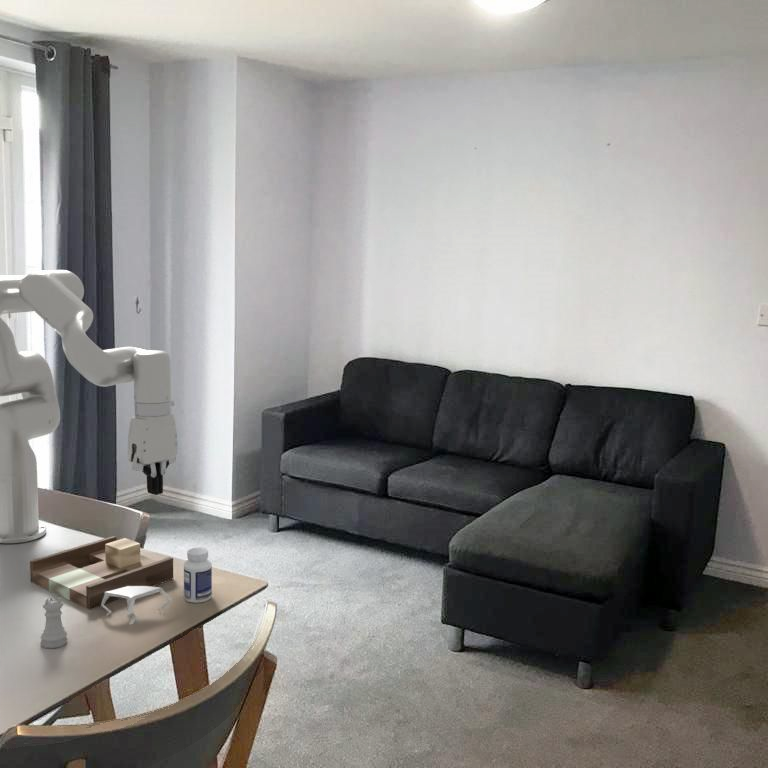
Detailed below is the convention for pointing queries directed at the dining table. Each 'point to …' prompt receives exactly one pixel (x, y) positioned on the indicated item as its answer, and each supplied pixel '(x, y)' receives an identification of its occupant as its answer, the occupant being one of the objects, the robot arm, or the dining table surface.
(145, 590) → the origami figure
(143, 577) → the board
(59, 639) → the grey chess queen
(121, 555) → the maple block
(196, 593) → the pill bottle
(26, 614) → the dining table surface
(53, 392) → the robot arm
